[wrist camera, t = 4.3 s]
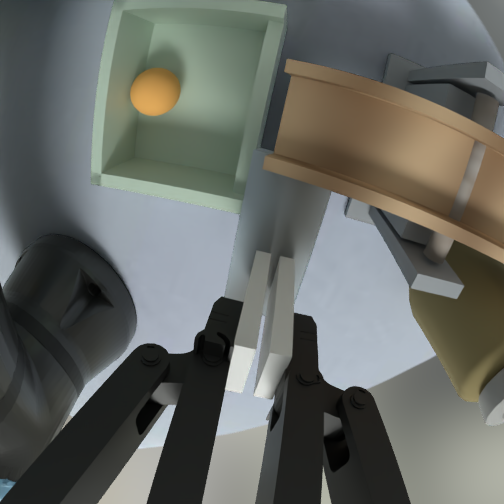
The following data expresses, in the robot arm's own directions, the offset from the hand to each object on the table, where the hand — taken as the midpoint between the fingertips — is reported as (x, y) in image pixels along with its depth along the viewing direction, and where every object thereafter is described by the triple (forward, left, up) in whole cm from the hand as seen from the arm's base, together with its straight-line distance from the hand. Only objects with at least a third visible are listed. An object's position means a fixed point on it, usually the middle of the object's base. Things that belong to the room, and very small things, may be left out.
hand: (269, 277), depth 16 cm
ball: (-9, +8, -5) cm, 13 cm away
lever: (+8, +5, -2) cm, 9 cm away
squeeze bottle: (+14, 0, -7) cm, 16 cm away
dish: (-7, +8, -7) cm, 13 cm away
